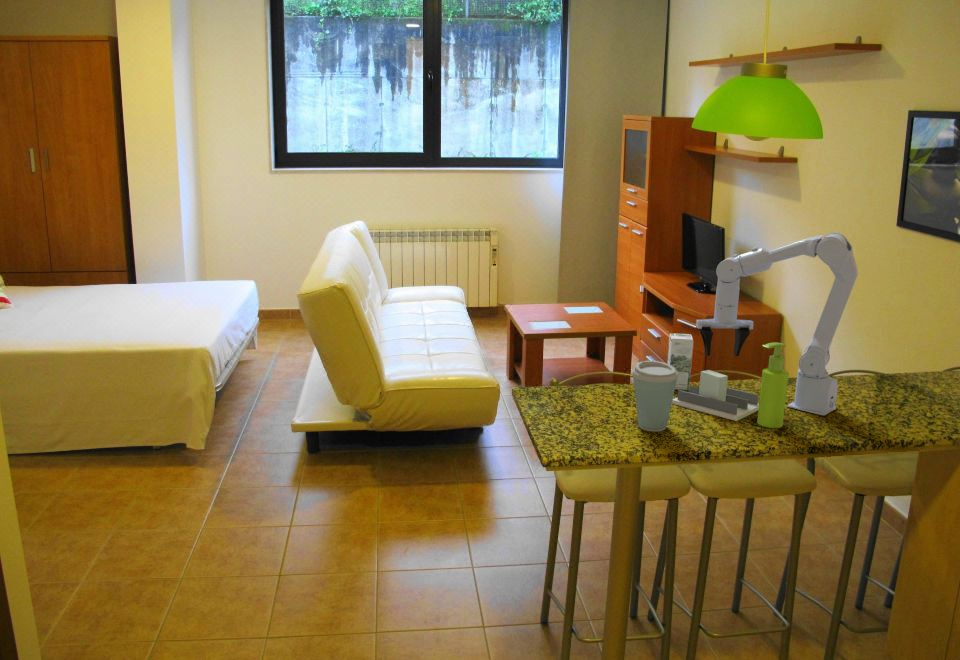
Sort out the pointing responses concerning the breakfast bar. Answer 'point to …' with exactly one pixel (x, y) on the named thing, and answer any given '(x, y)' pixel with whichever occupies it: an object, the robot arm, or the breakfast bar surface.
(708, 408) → the dish rack
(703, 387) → the white rectangular block
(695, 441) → the breakfast bar surface
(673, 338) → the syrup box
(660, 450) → the breakfast bar surface
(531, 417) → the breakfast bar surface
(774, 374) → the soap dispenser
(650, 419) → the disposable coffee cup
